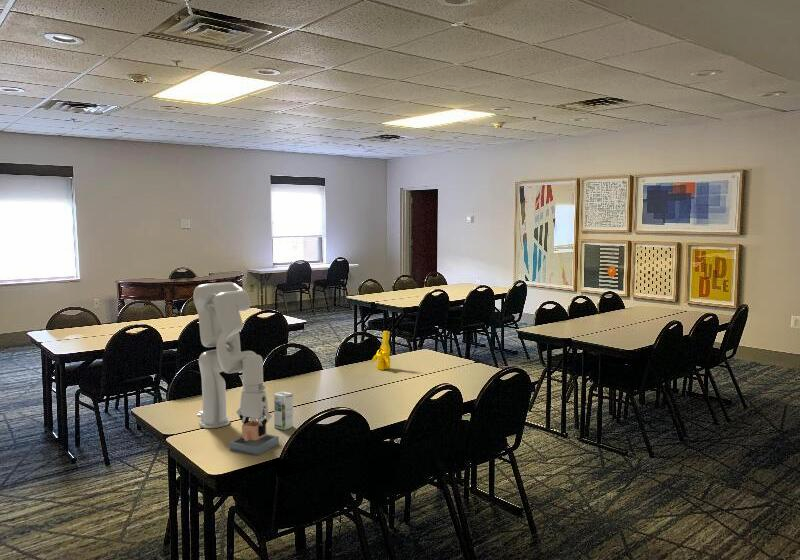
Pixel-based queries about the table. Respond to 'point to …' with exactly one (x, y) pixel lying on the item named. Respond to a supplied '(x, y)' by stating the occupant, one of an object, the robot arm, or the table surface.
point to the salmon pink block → (251, 431)
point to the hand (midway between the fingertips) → (254, 433)
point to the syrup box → (283, 410)
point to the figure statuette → (383, 353)
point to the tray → (254, 445)
